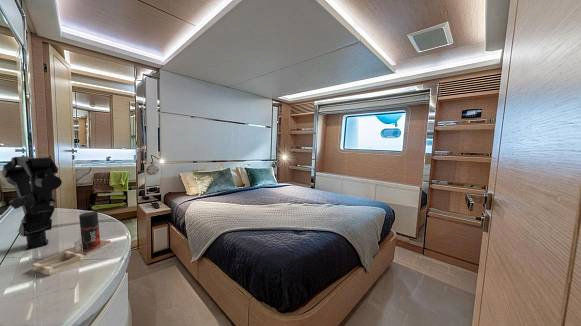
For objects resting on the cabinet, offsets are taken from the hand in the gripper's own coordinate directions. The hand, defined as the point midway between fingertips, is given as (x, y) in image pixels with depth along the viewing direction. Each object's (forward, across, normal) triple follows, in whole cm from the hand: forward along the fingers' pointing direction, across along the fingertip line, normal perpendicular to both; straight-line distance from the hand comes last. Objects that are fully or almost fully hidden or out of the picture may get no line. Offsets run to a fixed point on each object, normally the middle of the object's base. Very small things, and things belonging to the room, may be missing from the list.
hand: (46, 222), depth 90 cm
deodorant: (+12, +9, +13) cm, 20 cm away
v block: (+13, +8, +12) cm, 19 cm away
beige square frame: (+13, +18, +3) cm, 22 cm away
